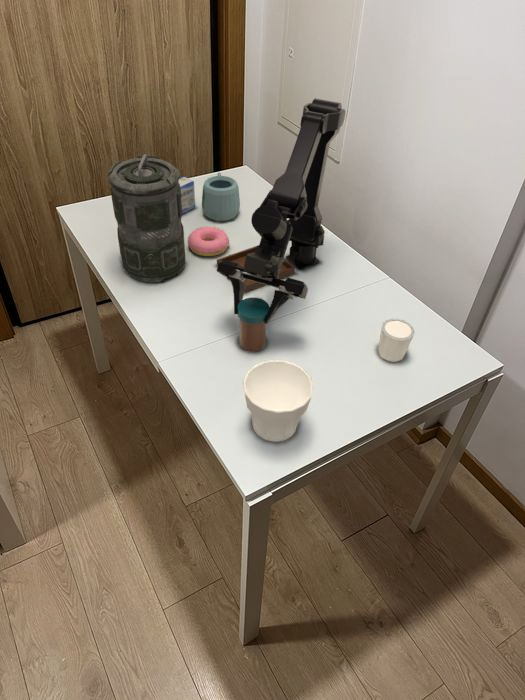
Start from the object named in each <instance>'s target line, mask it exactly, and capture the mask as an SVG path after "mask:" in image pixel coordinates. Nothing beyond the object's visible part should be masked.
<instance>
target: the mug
mask: <svg viewBox="0 0 525 700" xmlns="http://www.w3.org/2000/svg"><path fill="white" fill-rule="evenodd" d="M239 189H240V188H239V185H238V182H237V180H236V179H234V178H232V177H230V176H227V175H226V176H225V175H222V173H221V172H217V175H214V176H210V177H208V178H206V179H205V180H204V181H203V186H202V196H201V208H202V213H203V214H204V216H206V217H207V218H209V219H210V220H213V221H217V222H226V221H230V220H232V219H234V218H235V217H237V216H238V214H239V213H240V209H241V208H240V207H241V199H240V190H239Z"/></svg>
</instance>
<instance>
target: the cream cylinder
mask: <svg viewBox="0 0 525 700" xmlns="http://www.w3.org/2000/svg"><path fill="white" fill-rule="evenodd" d="M380 328H381V329H380V336H379V343H378V348H377V349H378V350H377V351H378V355H379V356H380V357H381V358H382V359H383V360H385V361H388V362H392V363H393V362H395V363H396V362H397V363H398V362H399V361H402V360H403V359H404V357H405V355H406V353H407V351H408V349H409V346H410V345H411V342H412V340H413V337H414V335H415V329H414V326H413V325H412V324H411V323H409V322H407V321H406V320H403V319H400V318H389V319H386V320H385V321H384V322H382V324H381V327H380Z"/></svg>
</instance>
